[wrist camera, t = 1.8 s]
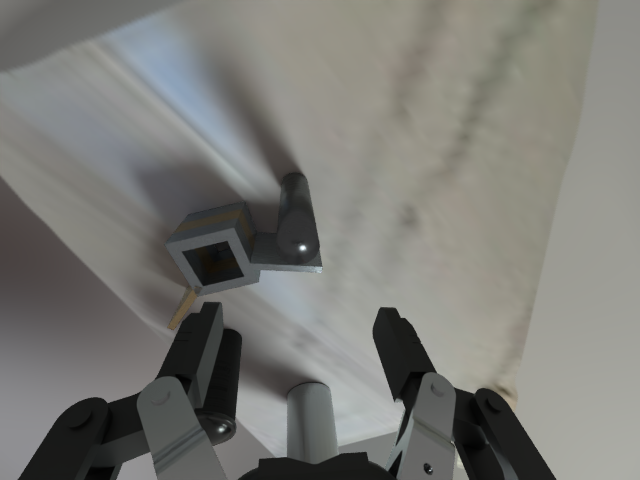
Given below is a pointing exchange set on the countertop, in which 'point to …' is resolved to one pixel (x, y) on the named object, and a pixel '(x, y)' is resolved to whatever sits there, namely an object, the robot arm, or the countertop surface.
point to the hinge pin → (296, 222)
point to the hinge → (224, 253)
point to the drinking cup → (222, 391)
